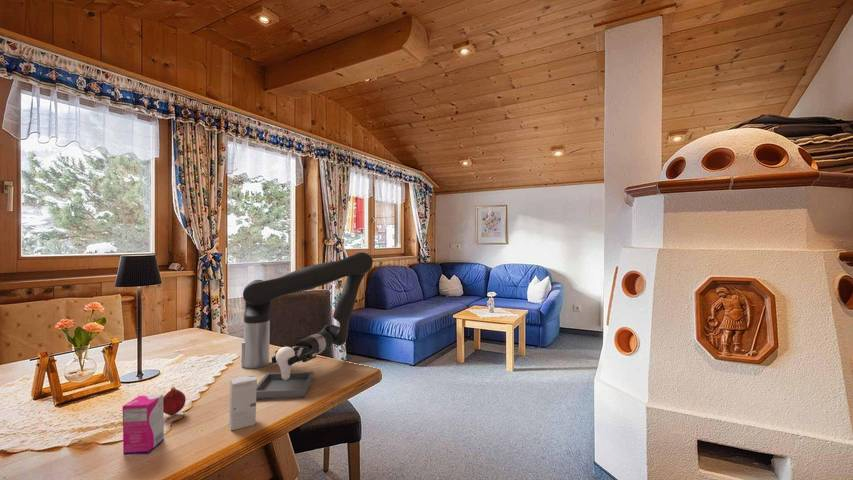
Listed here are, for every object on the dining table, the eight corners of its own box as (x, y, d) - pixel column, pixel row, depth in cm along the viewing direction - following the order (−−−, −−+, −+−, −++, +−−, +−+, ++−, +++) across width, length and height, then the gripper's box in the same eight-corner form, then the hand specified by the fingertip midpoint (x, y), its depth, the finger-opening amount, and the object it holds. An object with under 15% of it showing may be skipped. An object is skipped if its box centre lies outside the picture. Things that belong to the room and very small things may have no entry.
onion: (190, 412, 103) (190, 384, 103) (170, 422, 98) (170, 392, 98) (175, 409, 105) (175, 381, 105) (155, 418, 100) (155, 389, 100)
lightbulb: (298, 376, 124) (298, 344, 124) (290, 383, 118) (289, 350, 117) (281, 376, 124) (281, 344, 124) (272, 383, 118) (271, 349, 118)
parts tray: (250, 400, 112) (250, 392, 112) (266, 380, 128) (267, 373, 128) (304, 397, 114) (304, 389, 114) (313, 378, 130) (313, 371, 130)
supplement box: (139, 441, 89) (139, 394, 89) (164, 440, 89) (165, 393, 89) (121, 455, 83) (121, 405, 83) (148, 454, 83) (149, 404, 83)
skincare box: (230, 431, 94) (231, 384, 94) (228, 424, 97) (229, 378, 97) (256, 424, 97) (257, 379, 97) (253, 417, 101) (254, 374, 101)
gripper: (294, 334, 137) (262, 348, 120) (328, 337, 132) (299, 352, 116) (294, 354, 137) (262, 370, 121) (328, 358, 133) (299, 375, 116)
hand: (280, 361), depth 118 cm, fingers closed on lightbulb, 5 cm apart
